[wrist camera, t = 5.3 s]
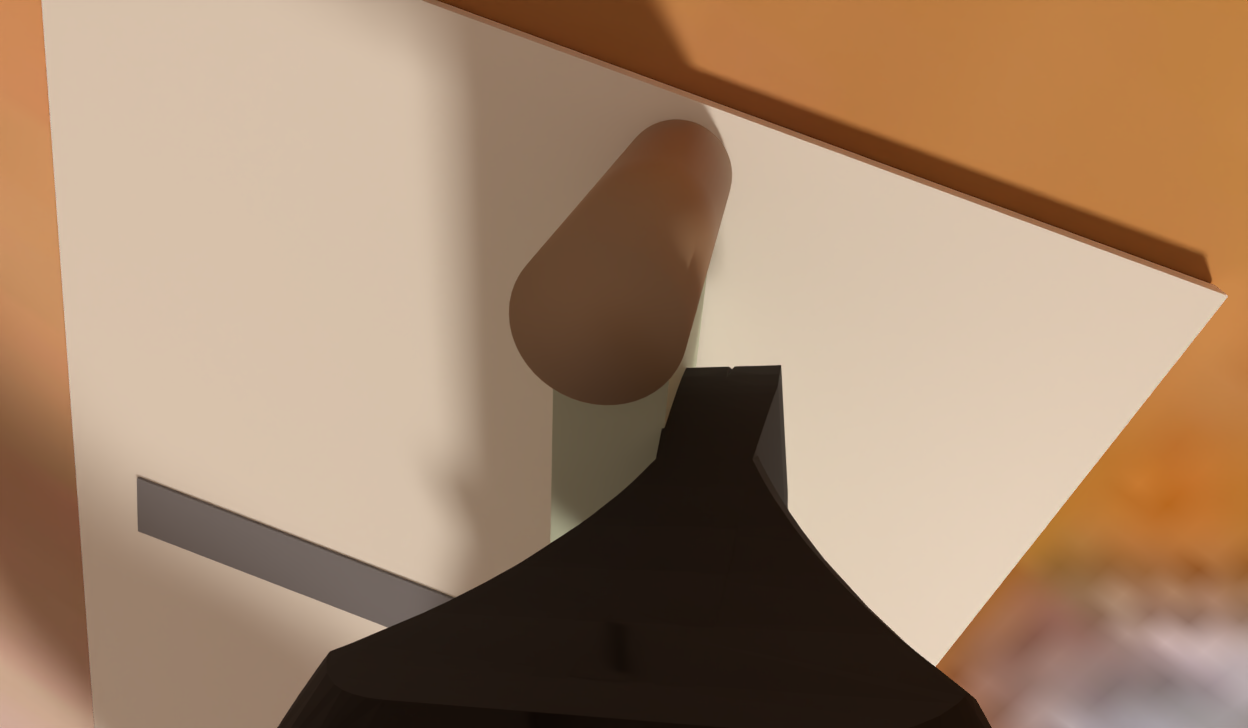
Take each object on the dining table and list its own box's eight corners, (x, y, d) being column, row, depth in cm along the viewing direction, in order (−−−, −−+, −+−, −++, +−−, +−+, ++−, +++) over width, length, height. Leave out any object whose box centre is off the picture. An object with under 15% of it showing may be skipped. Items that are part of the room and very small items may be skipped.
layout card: (692, 959, 22) (691, 977, 22) (106, 729, 22) (93, 743, 22) (1215, 285, 11) (1229, 297, 11) (53, -141, 12) (26, -144, 11)
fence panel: (670, 672, 16) (620, 953, 12) (594, 656, 16) (516, 926, 12) (738, 125, 11) (696, 250, 6) (626, 114, 11) (508, 226, 7)
